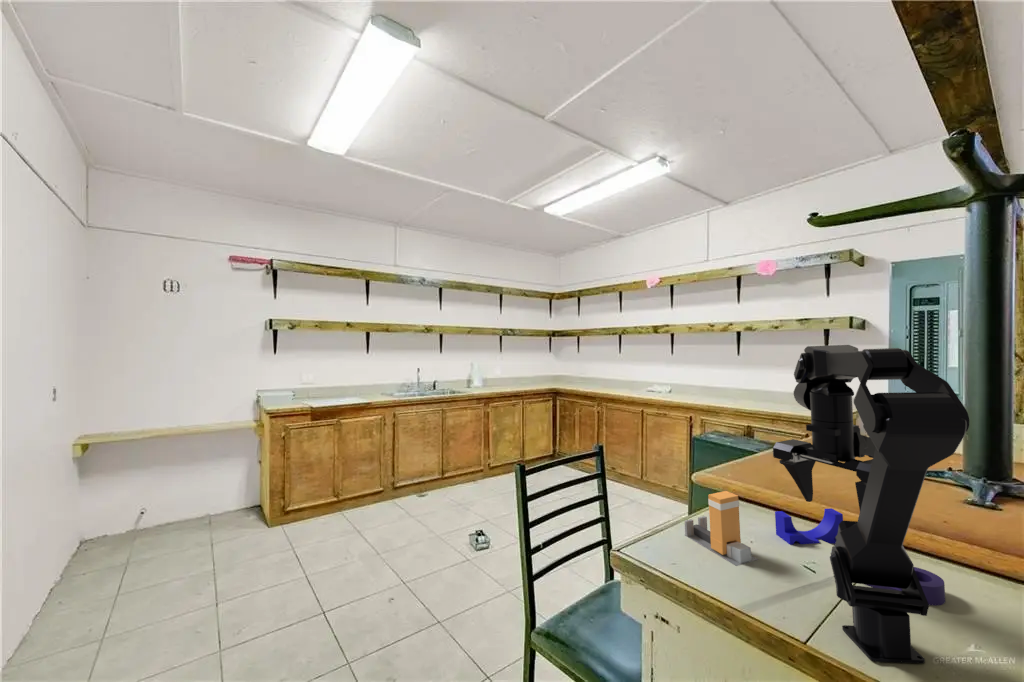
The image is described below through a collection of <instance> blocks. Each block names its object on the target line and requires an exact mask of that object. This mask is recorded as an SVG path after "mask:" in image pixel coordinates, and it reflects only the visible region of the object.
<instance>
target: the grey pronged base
mask: <svg viewBox="0 0 1024 682" xmlns="http://www.w3.org/2000/svg"><path fill="white" fill-rule="evenodd" d="M697 522H698V524H694V519H692V518H691V519H690V518H689V519H686V520H684V536H685V537H687V538H688V539H690V540H692V541H693V542H695V543H697V544H698V545H701V546H702V547H703V548H705V549H706V550H708V551H710V552H712V553H714V554H715V555H717V556H718V557H720V558H722V559H724V560H726V561H727V562H728V563H730V564H732V565H733V566H736V567H739V566H741V565H745V564H748V563H751V562H756V561H758V560H759V558H757V557H755V556H753V555H752V549H751V547H750V546H748V545H746V544H745V543H742V542H741V543H740V542H734V543H731V542H727V544H726V545H727V554H724V555H722V554H720V553H719V552H717V551H715V550H714V549H712V548H711V538H710V537H711V535H710V530H709V529H708V518H707V516H705V515H703V516H699V517H697Z"/></svg>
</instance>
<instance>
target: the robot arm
mask: <svg viewBox="0 0 1024 682" xmlns="http://www.w3.org/2000/svg"><path fill="white" fill-rule="evenodd" d="M803 351H804V352H801V353H800V356H799V358H798V360H797V362H796V365H795V369H794V373H793V377H794V379H795V382H796V383H797V384H796V385H795V387H794V390H793V398H794V399H795V402H796V403H797V404H798V405H800V406H802V407H803V408H805V409H807V410H808V411H810V418H811V419H810V422H811V423H809V424H805V431H807V432H811V439H812V440H811V441H812V442H807V441H802V440H799V439H793V438H792V439H788V440H787V439H786V440H782V441H781V440H780V441H777V442H775V443H774V445H773V447H772V457H773V458H774V459H778V460H779V464H781V465H783V466H784V468H785V469H786V471H787V472H788V474H789V475H790V476H791V478H792V479H793V481H794V482H795V484H796V486H797V487H798V490H799V491H800V493H801V495H802V497H803V498H804V500H805V501H806V502H807V503H810V502H813V496H814V489H813V488H814V487H813V485H814V484H813V469H814V466H815V465H816V463H817V462H818V463H821V464H824V465H828V466H833V467H836V468H840V469H843V470H848V471H851V472H855V474H856V475H855V476H857V477H856V478H858V479H859V481H855V491H856V496H857V502H858V508H859V514H858V518H857V521H854V520H843V521H841V522H840V523H839V527H838V533H837V536H836V537H835V538H836V543H834V545H833V546H832V548H831V552H830V556H829V560H830V564H831V569H832V572H833V573H832V575H833V577H834V582H835V590H836V592H835V593H836V596H837V598H839V599H840V600H843V601H844V602H846V603H847V605H848V606H850V607H852V610H851V611H852V623H853V625H846V624H845V625H842V626H841V628H842V631H843V632H844V633H845V634H846V636H848V637H849V638H850V640H852V641H853V643H854V644H855V645H856V646H857V647H858V648H859V649H860V650H861V651H862V653H863V654H865V656H866V657H867V658H868V659H869V660H871V661H872V662H877V663H878V662H879V663H880V662H881V663H882V662H884V663H901V664H902V663H903V664H904V663H905V664H925V663H926V659H925V657H924V656H923V655H922V654H921V653H919V651H918V650H916V649H915V648H914V647H913V646H912V643H911V641H912V639H911V638H912V637H911V621H910V620H911V618H910V614H912V615H913V614H915V615H920V616H925V617H926V616H928V612H929V611H928V610H929V607H930V605H929V604H928V601H927V599H926V596H925V594H924V592H923V589H922V587H921V584H920V582H919V579H918V577H917V574H916V572H915V570H914V567H915V565H914V562H913V561H912V560H911V557H910V555H909V554H908V552H907V550H906V548H905V547H904V542H905V538H906V536H907V532H908V531H909V530H908V529H909V526H910V524H911V520H912V517H913V515H914V512H915V508H916V506H917V503H918V499H919V497H920V494H921V490H922V487H923V485H924V481H925V478H926V475H927V472H928V470H929V468H931V467H933V466H934V465H935V464H939V463H940V462H942V461H943V460H946V459H947V458H949V457H951V456H952V455H954V454H955V452H956V451H957V449H958V447H959V446H960V444H961V443H962V441H963V439H964V438H965V435H966V434H967V433H966V432H968V430H969V428H970V417H969V414H968V411H967V409H966V407H965V406H964V404H963V402H962V401H961V399H960V398H959V396H958V395H957V393H956V392H955V391H954V389H953V388H952V387H951V385H950V383H949V382H948V381H946V380H945V379H944V378H942V377H940V376H938V375H936V374H935V373H934V372H932V371H930V370H928V369H926V368H925V367H923V366H922V365H920V364H918V363H917V362H916V359H915V358H914V357H913V355H912V353H911V352H910V351H909V350H906V349H902V348H899V347H892V348H888V347H887V348H865V349H862V350H859V348H858V347H856V346H854V345H851V344H835V345H834V344H833V345H832V344H831V345H812V346H811V345H810V346H809V345H808V346H806V347H805V348H804V349H803ZM856 378H857V379H858V380H859V386H858V388H857V391H856V394H855V392H854V390H853V388H851V387H850V386H849V385H847V383H851V382H852V381H853V379H856ZM886 380H887V381H891V380H894V381H895V380H897V381H899V380H900V381H901V382H902V383H901V384H903V385H904V386H905V387H907V388H909V389H910V390H912V392H876V393H874V394H871V391H870V390H869V388H868V386H867V383H868V381H886ZM853 397H854V398H853ZM853 404H854V406H855V409H856V410H857V413H858V415H859V417H860V420H861V422H862V424H863V430H864V432H865V433H866V434H867V435H863V434H862V433H861V428H860V426H859V425H857V424H854V414H853V413H854V411H853V409H854V407H853ZM866 456H868V457H869V458H870V459H867V460H859V459H856V458H861V459H862V458H864V457H866ZM854 584H858V585H854ZM859 584H860V585H859ZM864 584H867V585H876V586H884V587H893V588H902V591H899V590H890V589H881V588H873V587H870V586H867V585H866V586H861V585H864Z"/></svg>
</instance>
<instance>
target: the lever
mask: <svg viewBox="0 0 1024 682" xmlns="http://www.w3.org/2000/svg"><path fill="white" fill-rule="evenodd" d="M914 570H915V572H916V574H917V577H918V579H919V582H920V584H921V587H922V589H923V592H924V594H925V596H926V599H927V601H928V604H929V606H936V607H937V606H943V605H944V604H945V603H946V589H945V588H946V587H945V580H944V579H943V578H942V577H941V576H940V575H938V574H936V573H933V572H932V571H929V570H926V569H923V568H920V567H916V566H914ZM863 585H865V586H866V587H872V588H881V589H890V590H899V591H902V588H893V587H884V586H876V585H867V584H863Z"/></svg>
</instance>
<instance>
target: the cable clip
mask: <svg viewBox="0 0 1024 682" xmlns="http://www.w3.org/2000/svg"><path fill="white" fill-rule="evenodd" d="M823 512H824V513H823V517H822V519H821V521H820V522H819V523H818V525H816V526H815V527H814V528H812V529H810V530H804V531H803V530H797V528H796V527H795V525H794V523H793V520H792V516H790V515H789V514H787V513H786V512H785V511H783V510H781V511H778V510H777V511H774V516H775V517H774V518H775V520H774V521H775V535H776V536H777V537H779V538H780V539H781V540H783V541H784V542H785V543H786V544H788V545H790V546H792V545H794V544H795V542H797V543H798V544H799V545H807V544H808V545H811V544H812V545H813V544H820V543H821V541H822V542H825V543H827V544H830V545H831V544H835V543H836V538H835V537H836V536H837V533H838V527H839V523H840V522H841V521H844V516H843V513H842V512H839V511H837V510H835V509H834V508H832V507H831V508H824V511H823ZM820 540H821V541H820Z"/></svg>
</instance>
